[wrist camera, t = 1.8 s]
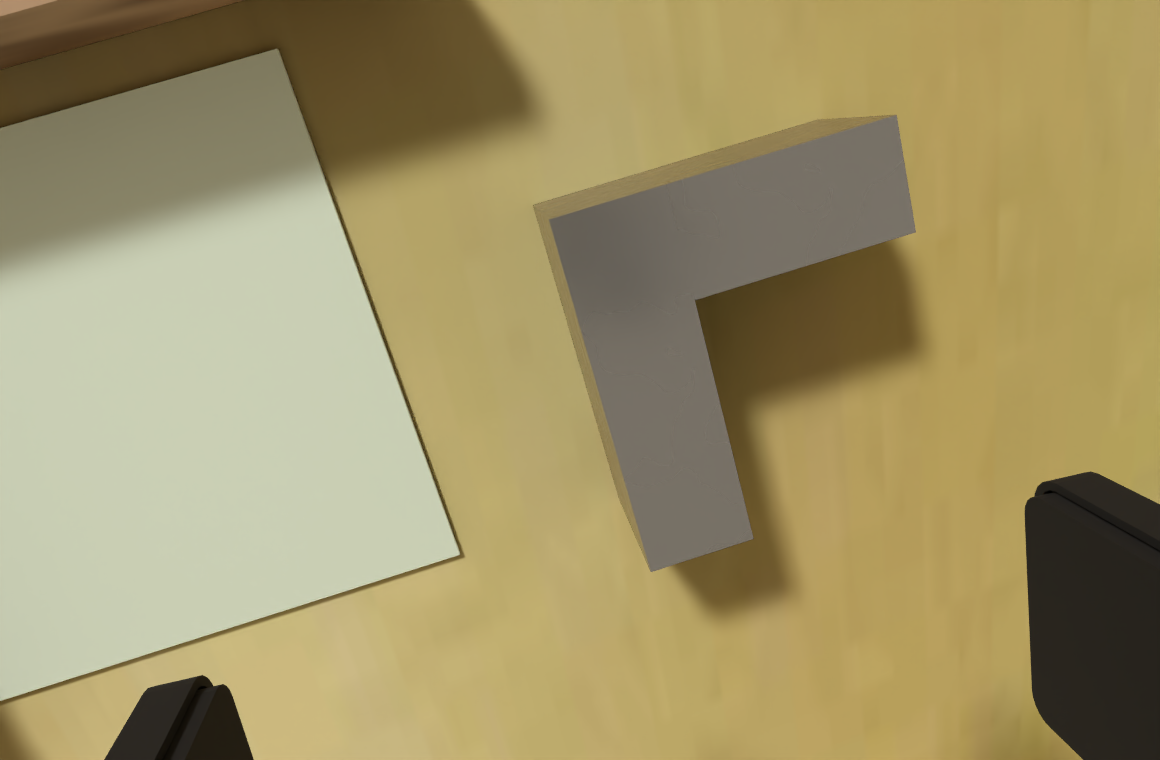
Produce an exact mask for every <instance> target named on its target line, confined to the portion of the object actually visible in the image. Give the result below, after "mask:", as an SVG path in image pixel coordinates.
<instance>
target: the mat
mask: <svg viewBox="0 0 1160 760" xmlns="http://www.w3.org/2000/svg"><path fill="white" fill-rule="evenodd" d="M458 555H460V551H459V548H458V545H457V542H456V540H455V537H454V534H453V531H452V529H451V526H450V523H449V520H448V517H447V515H446V512H445V509H444V506H443V504H442V501H441V498H440V495H439V493H438V490H437V487H436V484H435V481H434V479H433V476H432V473H431V470H430V468H429V465H428V462H427V459H426V457H425V454H424V451H423V448H422V445H421V443H420V440H419V437H418V434H417V432H416V429H415V426H414V423H413V420H412V418H411V415H410V412H409V409H408V407H407V404H406V401H405V398H404V396H403V393H402V390H401V387H400V384H399V382H398V379H397V376H396V373H395V371H394V368H393V365H392V362H391V360H390V357H389V354H388V351H387V348H386V346H385V343H384V340H383V337H382V335H381V332H380V329H379V326H378V323H377V321H376V318H375V315H374V312H373V310H372V307H371V304H370V301H369V299H368V296H367V293H366V290H365V287H364V285H363V282H362V279H361V276H360V274H359V271H358V268H357V265H356V263H355V260H354V257H353V254H352V251H351V249H350V246H349V243H348V240H347V238H346V235H345V232H344V229H343V226H342V224H341V221H340V218H339V215H338V213H337V210H336V207H335V204H334V202H333V199H332V196H331V193H330V190H329V188H328V185H327V182H326V179H325V177H324V174H323V171H322V168H321V166H320V163H319V160H318V157H317V154H316V152H315V149H314V146H313V143H312V141H311V138H310V135H309V132H308V129H307V127H306V124H305V121H304V118H303V116H302V113H301V110H300V107H299V105H298V102H297V99H296V96H295V93H294V91H293V88H292V85H291V82H290V80H289V77H288V74H287V71H286V69H285V66H284V63H283V60H282V57H281V55H280V52H279V49H274V50H270V51H267V52H263V53H260V54H256V55H253V56H249V57H246V58H242V59H239V60H235V61H232V62H228V63H225V64H222V65H218V66H215V67H211V68H208V69H204V70H201V71H197V72H194V73H190V74H187V75H183V76H180V77H176V78H173V79H169V80H166V81H162V82H159V83H155V84H152V85H148V86H145V87H141V88H138V89H135V90H131V91H128V92H124V93H121V94H117V95H114V96H110V97H107V98H103V99H100V100H96V101H93V102H89V103H86V104H82V105H79V106H75V107H72V108H68V109H65V110H61V111H58V112H54V113H51V114H47V115H44V116H41V117H37V118H34V119H30V120H27V121H23V122H20V123H16V124H13V125H9V126H6V127H2V128H0V701H2V700H5V699H8V698H11V697H14V696H18V695H21V694H24V693H27V692H30V691H33V690H36V689H40V688H43V687H46V686H49V685H52V684H55V683H58V682H62V681H65V680H68V679H71V678H74V677H77V676H80V675H84V674H87V673H90V672H93V671H96V670H99V669H102V668H106V667H109V666H112V665H115V664H118V663H121V662H124V661H128V660H131V659H134V658H137V657H140V656H143V655H146V654H150V653H153V652H156V651H159V650H162V649H165V648H168V647H172V646H175V645H178V644H181V643H184V642H187V641H190V640H194V639H197V638H200V637H203V636H206V635H209V634H212V633H216V632H219V631H222V630H225V629H228V628H231V627H234V626H238V625H241V624H244V623H247V622H250V621H253V620H256V619H260V618H263V617H266V616H269V615H272V614H275V613H278V612H282V611H285V610H288V609H291V608H294V607H297V606H300V605H304V604H307V603H310V602H313V601H316V600H319V599H322V598H326V597H329V596H332V595H335V594H338V593H341V592H344V591H348V590H351V589H354V588H357V587H360V586H363V585H366V584H370V583H373V582H376V581H379V580H382V579H385V578H388V577H392V576H395V575H398V574H401V573H404V572H407V571H410V570H414V569H417V568H420V567H423V566H426V565H429V564H432V563H436V562H439V561H442V560H445V559H448V558H451V557H454V556H458Z"/></svg>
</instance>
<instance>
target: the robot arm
mask: <svg viewBox="0 0 1160 760" xmlns="http://www.w3.org/2000/svg"><path fill="white" fill-rule="evenodd" d="M1025 532H1026V556H1027V580H1028V604H1029V627H1030V651H1031V675H1032V692H1033V698H1034V701H1035V705H1036V707H1037V709H1038V711H1039V713H1040V715H1041V716H1042V718H1043V720H1044V721H1045V722H1046V723H1047V725H1048V726H1049V727H1050V728H1051V729H1052V730H1053V731H1054V732H1055V733H1056V734H1057V735H1059V736H1060V737H1061V738H1062V739H1063V740H1064V741H1065V742H1066V743H1067V744H1068V745H1069V746H1070V747H1071V748H1072V749H1073V750H1074V751H1075V752H1076V753H1077V754H1078V755H1079V756H1080V757H1081V758H1082V759H1083V760H1160V504H1158V503H1156V502H1154V501H1152V500H1150V499H1148V498H1146V497H1144V496H1142V495H1140V494H1138V493H1136V492H1134V491H1132V490H1130V489H1128V488H1126V487H1124V486H1122V485H1120V484H1118V483H1116V482H1114V481H1112V480H1110V479H1108V478H1106V477H1104V476H1102V475H1100V474H1097V473H1094V472H1086V473H1081V474H1077V475H1072V476H1068V477H1064V478H1059V479H1055V480H1051V481H1046V482H1042V483H1041V484H1040V485H1039V486H1038V487H1037V490H1036V492H1035V497H1032V498H1030V499H1029V500H1028V501H1027V503H1026V505H1025ZM104 760H254V759H253V756H252V753H251V750H250V747H249V744H248V741H247V738H246V735H245V732H244V729H243V726H242V723H241V720H240V717H239V714H238V711H237V708H236V705H235V702H234V699H233V697H232V694H231V692H230V690H229V689H228V687H227V686H226V685H223V684H222V685H218V686H213V685H212V683H211V682H210V680H209V679H208V678H207V677H205V676H203V675H202V676H197V677H193V678H189V679H184V680H180V681H175V682H171V683H167V684H162V685H158V686H154V687H150V688H148V689H147V690H146V691H145V692H144V693H143V695H142V696H141V698H140V700H139V702H138V703H137V705H136V707H135V708H134V710H133V712H132V713H131V715H130V717H129V719H128V720H127V722H126V724H125V725H124V727H123V729H122V731H121V732H120V734H119V736H118V737H117V739H116V741H115V742H114V744H113V746H112V748H111V749H110V751H109V753H108V754H107V756H106V758H105V759H104Z"/></svg>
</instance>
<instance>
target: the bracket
mask: <svg viewBox="0 0 1160 760" xmlns="http://www.w3.org/2000/svg"><path fill="white" fill-rule="evenodd" d="M533 207H534V211H535V214H536V217H537V221H538V224H539V228H540V231H541V234H542V238H543V241H544V245H545V248H546V252H547V255H548V258H549V262H550V265H551V269H552V272H553V275H554V279H555V282H556V286H557V289H558V292H559V296H560V299H561V303H562V306H563V309H564V313H565V316H566V320H567V323H568V326H569V330H570V333H571V337H572V340H573V344H574V347H575V350H576V354H577V357H578V361H579V364H580V367H581V371H582V374H583V378H584V381H585V384H586V388H587V391H588V395H589V398H590V401H591V405H592V408H593V412H594V415H595V418H596V422H597V425H598V429H599V432H600V435H601V439H602V442H603V446H604V449H605V453H606V456H607V459H608V463H609V466H610V470H611V473H612V476H613V480H614V483H615V487H616V490H617V493H618V497H619V500H620V503H621V505H622V507H623V509H624V512H625V514H626V516H627V519H628V521H629V523H630V525H631V528H632V530H633V532H634V535H635V537H636V539H637V542H638V544H639V546H640V548H641V551H642V553H643V555H644V558H645V560H646V562H647V564H648V567H649V569H650V571H651V572H653V571H656V570H659V569H662V568H665V567H668V566H671V565H674V564H677V563H681V562H684V561H687V560H690V559H693V558H696V557H699V556H702V555H705V554H708V553H711V552H715V551H718V550H721V549H724V548H727V547H730V546H733V545H736V544H739V543H742V542H746V541H749V540H752V539H754V538H753V534H752V530H751V526H750V522H749V518H748V514H747V510H746V506H745V502H744V498H743V494H742V490H741V486H740V482H739V477H738V473H737V469H736V465H735V461H734V457H733V453H732V449H731V445H730V441H729V437H728V433H727V429H726V425H725V421H724V417H723V413H722V409H721V404H720V400H719V396H718V392H717V388H716V384H715V380H714V376H713V372H712V368H711V364H710V360H709V356H708V352H707V348H706V344H705V340H704V335H703V331H702V327H701V323H700V319H699V315H698V311H697V307H696V303H695V300H697V299H701V298H704V297H707V296H710V295H714V294H717V293H720V292H723V291H727V290H730V289H733V288H736V287H740V286H743V285H746V284H749V283H753V282H756V281H759V280H762V279H766V278H769V277H772V276H775V275H779V274H782V273H785V272H788V271H792V270H795V269H798V268H801V267H805V266H808V265H811V264H814V263H818V262H821V261H824V260H827V259H831V258H834V257H837V256H840V255H844V254H847V253H850V252H853V251H857V250H860V249H863V248H866V247H870V246H873V245H876V244H879V243H883V242H886V241H889V240H892V239H895V238H899V237H902V236H905V235H908V234H912V233H915V232H916V230H915V224H914V218H913V212H912V206H911V200H910V194H909V188H908V182H907V176H906V170H905V163H904V157H903V151H902V145H901V139H900V133H899V127H898V121H897V115H887V116H870V117H854V118H838V119H822V120H815V121H812V122H808V123H805V124H802V125H798V126H795V127H792V128H788V129H785V130H782V131H778V132H775V133H772V134H768V135H765V136H762V137H758V138H755V139H752V140H748V141H745V142H742V143H738V144H735V145H732V146H728V147H725V148H722V149H718V150H715V151H712V152H708V153H705V154H702V155H698V156H695V157H692V158H688V159H685V160H682V161H678V162H675V163H672V164H668V165H665V166H662V167H658V168H655V169H652V170H648V171H645V172H642V173H638V174H635V175H632V176H628V177H625V178H622V179H618V180H615V181H612V182H608V183H605V184H602V185H598V186H595V187H592V188H588V189H585V190H582V191H578V192H575V193H572V194H568V195H565V196H562V197H558V198H555V199H552V200H548V201H545V202H542V203H538V204H535V205H533Z"/></svg>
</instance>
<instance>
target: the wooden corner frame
mask: <svg viewBox="0 0 1160 760" xmlns="http://www.w3.org/2000/svg"><path fill="white" fill-rule="evenodd" d="M240 1H243V0H0V70H1V69H4V68H8V67H11V66H15V65H18V64H22V63H25V62H29V61H32V60H36V59H39V58H43V57H46V56H50V55H53V54H57V53H60V52H64V51H67V50H71V49H74V48H78V47H81V46H85V45H89V44H92V43H96V42H99V41H103V40H106V39H110V38H113V37H117V36H120V35H124V34H127V33H131V32H134V31H138V30H141V29H145V28H148V27H152V26H155V25H159V24H162V23H166V22H169V21H173V20H176V19H180V18H184V17H187V16H191V15H194V14H198V13H201V12H205V11H208V10H212V9H215V8H219V7H222V6H226V5H229V4H233V3H236V2H240Z"/></svg>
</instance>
